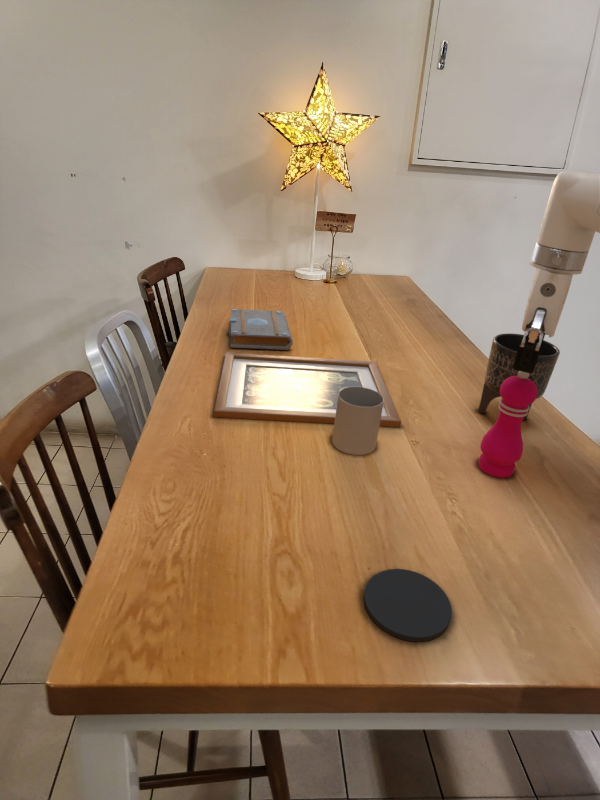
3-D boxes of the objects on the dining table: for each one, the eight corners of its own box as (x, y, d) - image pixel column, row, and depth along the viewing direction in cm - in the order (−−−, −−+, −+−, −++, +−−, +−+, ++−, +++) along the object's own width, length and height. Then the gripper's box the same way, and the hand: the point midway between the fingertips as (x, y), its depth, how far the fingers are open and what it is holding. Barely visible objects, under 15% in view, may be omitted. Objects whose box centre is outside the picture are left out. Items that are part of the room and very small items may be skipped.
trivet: (422, 567, 75) (423, 562, 75) (467, 631, 66) (469, 626, 65) (350, 580, 71) (350, 576, 71) (387, 650, 62) (388, 645, 62)
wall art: (225, 351, 134) (375, 361, 137) (225, 357, 135) (374, 366, 138) (213, 410, 107) (401, 421, 110) (213, 417, 107) (400, 427, 110)
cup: (364, 460, 98) (372, 411, 94) (324, 445, 101) (330, 398, 97) (381, 440, 105) (390, 395, 100) (344, 427, 108) (350, 382, 104)
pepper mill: (522, 470, 100) (554, 371, 91) (504, 484, 95) (537, 382, 86) (486, 453, 104) (514, 357, 95) (468, 466, 99) (495, 367, 90)
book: (291, 351, 142) (293, 333, 140) (228, 348, 140) (229, 330, 138) (284, 324, 161) (286, 308, 159) (229, 322, 158) (229, 305, 156)
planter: (540, 440, 111) (567, 360, 103) (476, 429, 112) (498, 350, 104) (528, 411, 122) (551, 338, 114) (470, 402, 124) (489, 329, 116)
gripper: (583, 274, 74) (545, 385, 82) (585, 254, 88) (553, 351, 96) (526, 263, 77) (494, 372, 85) (537, 246, 91) (509, 341, 99)
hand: (525, 361), depth 90 cm, fingers open, 9 cm apart
